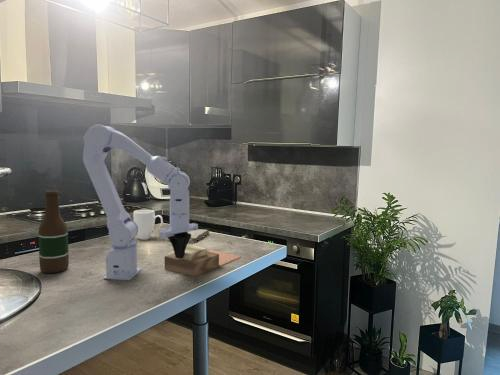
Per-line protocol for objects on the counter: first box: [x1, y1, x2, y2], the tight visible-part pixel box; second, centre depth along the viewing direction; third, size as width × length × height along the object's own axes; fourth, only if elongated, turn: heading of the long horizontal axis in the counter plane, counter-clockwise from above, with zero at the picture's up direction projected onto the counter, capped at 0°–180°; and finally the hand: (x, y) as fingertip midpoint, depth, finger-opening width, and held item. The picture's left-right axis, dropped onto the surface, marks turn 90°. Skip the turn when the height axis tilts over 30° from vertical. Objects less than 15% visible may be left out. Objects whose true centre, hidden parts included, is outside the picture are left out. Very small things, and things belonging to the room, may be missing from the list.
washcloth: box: [166, 228, 210, 244], centre depth 152 cm, size 12×18×3 cm, turn 166°
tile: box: [181, 244, 208, 261], centre depth 114 cm, size 8×6×2 cm
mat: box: [207, 249, 242, 267], centre depth 125 cm, size 12×13×1 cm
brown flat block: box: [164, 251, 220, 278], centre depth 115 cm, size 12×12×4 cm
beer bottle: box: [37, 189, 70, 274], centre depth 109 cm, size 8×8×24 cm
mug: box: [132, 208, 164, 241], centre depth 149 cm, size 12×8×11 cm
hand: (179, 257), depth 109 cm, fingers closed
